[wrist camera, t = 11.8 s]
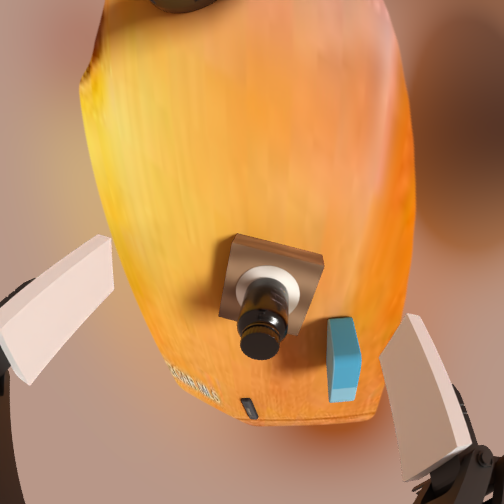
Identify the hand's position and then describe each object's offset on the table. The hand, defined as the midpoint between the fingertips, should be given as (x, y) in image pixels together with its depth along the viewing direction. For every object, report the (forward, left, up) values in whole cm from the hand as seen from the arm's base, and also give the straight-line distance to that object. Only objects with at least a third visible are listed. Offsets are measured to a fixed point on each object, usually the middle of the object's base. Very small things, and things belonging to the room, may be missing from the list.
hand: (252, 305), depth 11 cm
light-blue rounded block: (+26, +18, -32) cm, 45 cm away
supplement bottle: (+17, +2, -27) cm, 32 cm away
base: (+17, +2, -32) cm, 36 cm away
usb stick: (+56, +7, -32) cm, 65 cm away
